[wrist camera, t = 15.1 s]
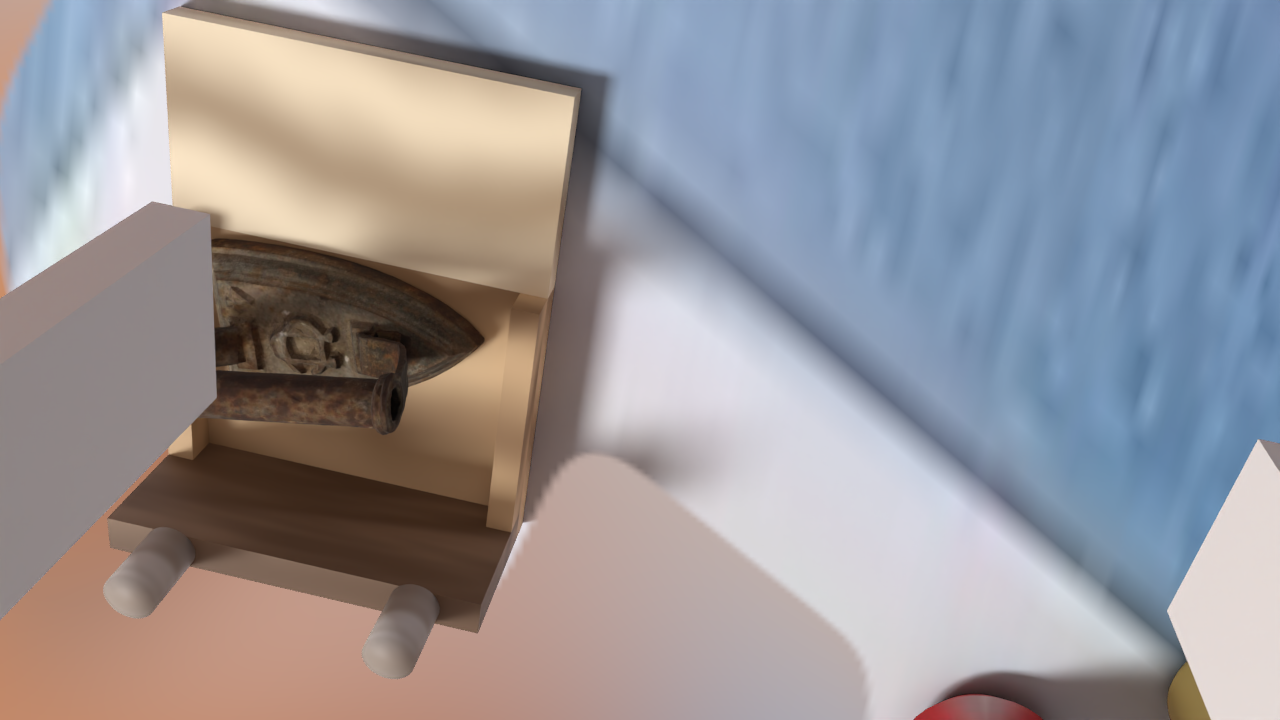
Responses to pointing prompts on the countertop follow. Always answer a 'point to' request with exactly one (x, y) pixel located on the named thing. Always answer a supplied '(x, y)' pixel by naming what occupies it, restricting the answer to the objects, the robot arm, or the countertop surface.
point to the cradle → (396, 245)
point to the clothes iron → (323, 338)
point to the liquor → (977, 709)
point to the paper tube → (1185, 697)
